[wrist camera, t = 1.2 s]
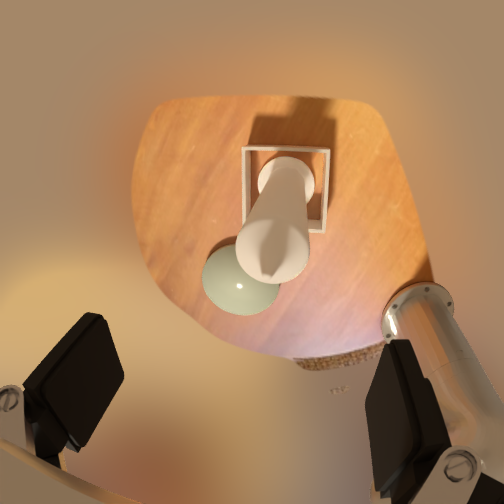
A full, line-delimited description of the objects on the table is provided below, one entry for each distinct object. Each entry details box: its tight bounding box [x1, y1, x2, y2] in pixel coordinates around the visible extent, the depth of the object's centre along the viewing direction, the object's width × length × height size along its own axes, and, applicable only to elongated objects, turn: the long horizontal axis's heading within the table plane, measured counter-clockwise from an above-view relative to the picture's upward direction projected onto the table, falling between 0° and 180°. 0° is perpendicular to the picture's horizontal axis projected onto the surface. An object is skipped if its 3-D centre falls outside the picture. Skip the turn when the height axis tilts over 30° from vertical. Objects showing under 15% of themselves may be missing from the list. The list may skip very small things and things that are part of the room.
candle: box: [236, 156, 315, 284], centre depth 27 cm, size 7×7×25 cm
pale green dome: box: [202, 243, 280, 315], centre depth 44 cm, size 11×11×1 cm
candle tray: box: [242, 145, 330, 233], centre depth 36 cm, size 10×10×4 cm
